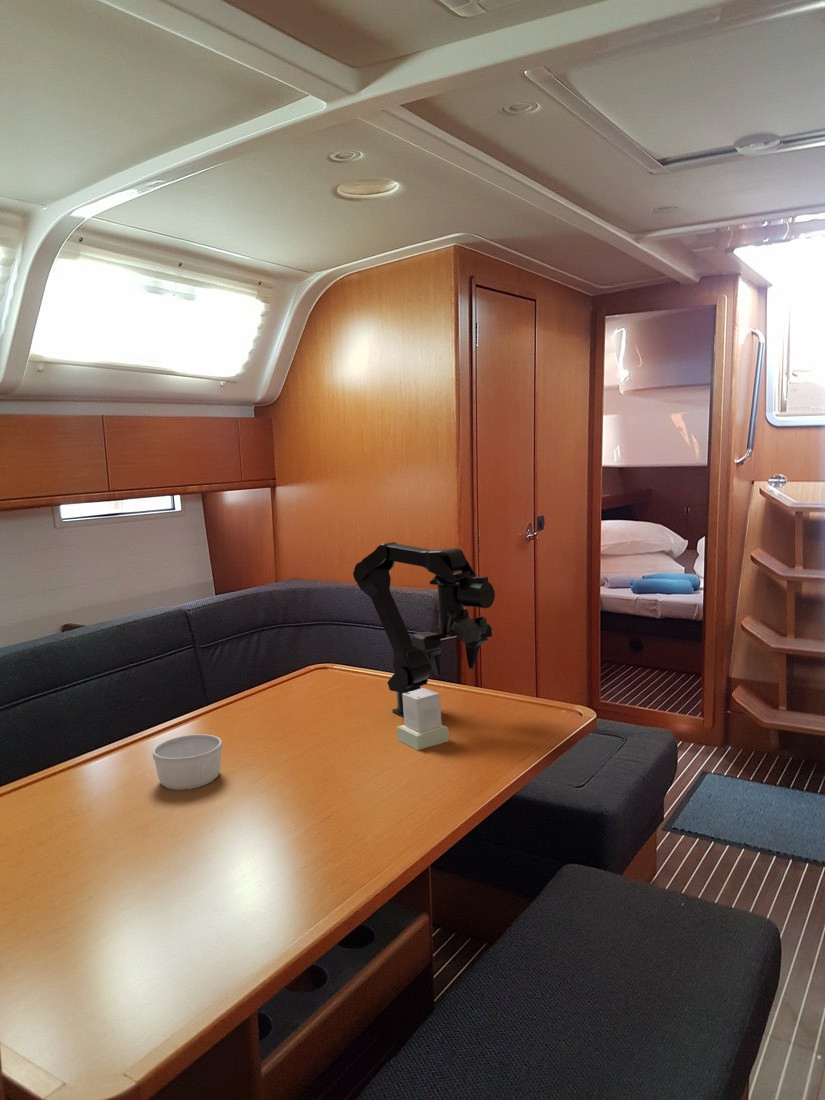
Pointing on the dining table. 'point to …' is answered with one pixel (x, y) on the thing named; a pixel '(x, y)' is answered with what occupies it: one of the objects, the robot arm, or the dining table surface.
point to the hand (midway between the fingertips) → (454, 672)
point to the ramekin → (188, 761)
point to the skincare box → (421, 709)
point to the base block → (422, 736)
